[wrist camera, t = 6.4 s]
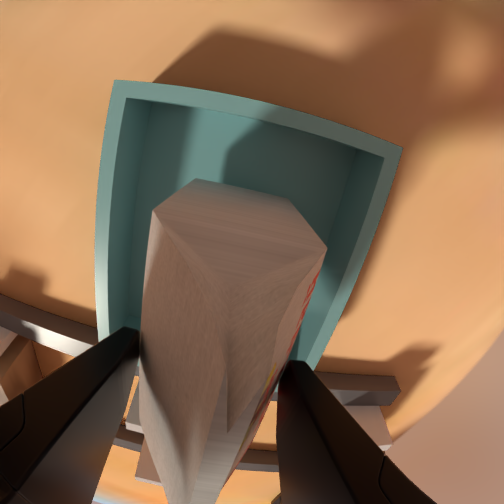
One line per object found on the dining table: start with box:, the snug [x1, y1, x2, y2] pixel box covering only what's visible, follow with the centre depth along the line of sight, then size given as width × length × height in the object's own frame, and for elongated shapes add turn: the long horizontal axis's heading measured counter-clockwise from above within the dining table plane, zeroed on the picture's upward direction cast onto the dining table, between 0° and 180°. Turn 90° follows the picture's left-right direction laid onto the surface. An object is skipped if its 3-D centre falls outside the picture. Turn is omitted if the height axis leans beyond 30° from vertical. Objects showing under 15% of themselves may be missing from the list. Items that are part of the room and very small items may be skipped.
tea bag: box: [139, 178, 327, 504], centre depth 8 cm, size 4×7×10 cm, turn 167°
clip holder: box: [0, 294, 401, 486], centre depth 17 cm, size 13×31×5 cm, turn 77°
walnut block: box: [0, 334, 43, 406], centre depth 16 cm, size 6×4×5 cm, turn 166°
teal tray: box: [95, 80, 403, 392], centre depth 13 cm, size 12×10×4 cm
